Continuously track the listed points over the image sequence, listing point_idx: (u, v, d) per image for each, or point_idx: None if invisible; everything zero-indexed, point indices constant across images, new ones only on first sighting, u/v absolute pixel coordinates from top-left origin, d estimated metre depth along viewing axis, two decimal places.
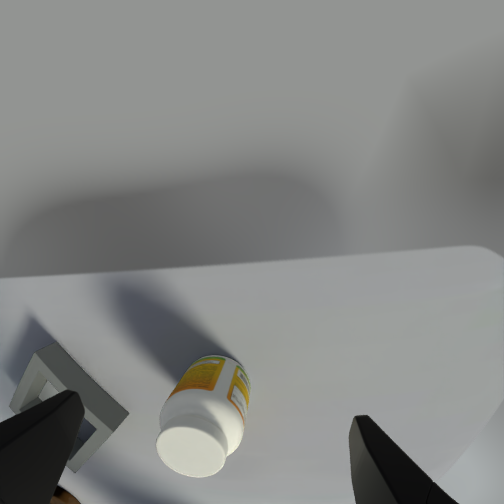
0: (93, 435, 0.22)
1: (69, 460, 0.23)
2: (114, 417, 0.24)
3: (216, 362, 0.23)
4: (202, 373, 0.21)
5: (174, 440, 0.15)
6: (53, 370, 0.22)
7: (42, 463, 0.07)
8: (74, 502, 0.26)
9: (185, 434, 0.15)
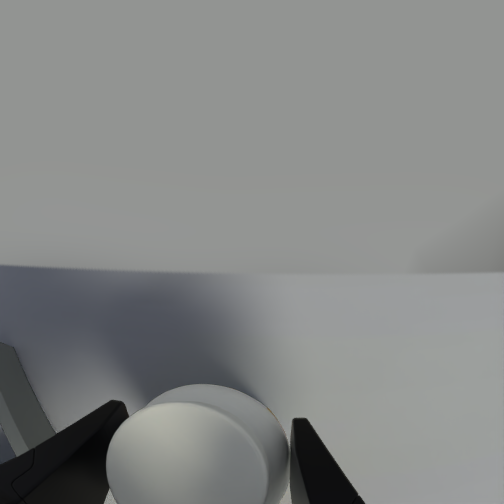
0: None
1: None
2: None
3: None
4: None
5: (153, 439, 0.06)
6: None
7: (89, 482, 0.06)
8: None
9: (184, 424, 0.07)
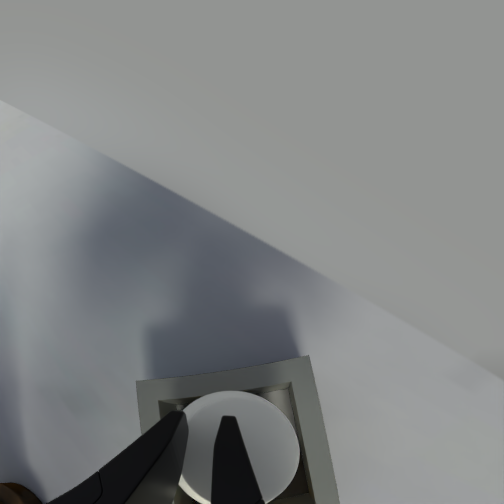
0: None
1: None
2: None
3: None
4: None
5: (219, 424, 0.09)
6: (317, 397, 0.16)
7: (155, 500, 0.06)
8: None
9: (243, 412, 0.10)
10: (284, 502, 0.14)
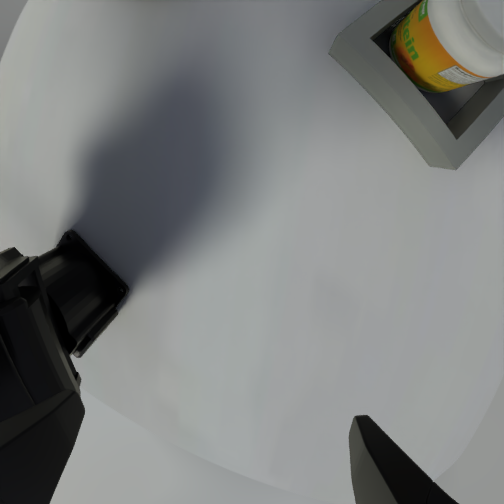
0: (444, 126, 0.14)
1: (369, 37, 0.13)
2: None
3: None
4: None
5: None
6: None
7: (42, 463, 0.07)
8: None
9: None
10: None
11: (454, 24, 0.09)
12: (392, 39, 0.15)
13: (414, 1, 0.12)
